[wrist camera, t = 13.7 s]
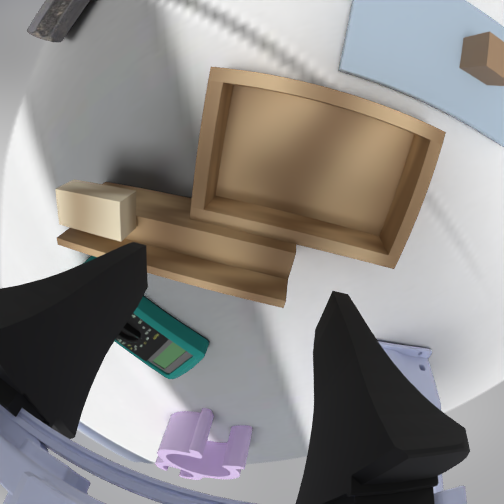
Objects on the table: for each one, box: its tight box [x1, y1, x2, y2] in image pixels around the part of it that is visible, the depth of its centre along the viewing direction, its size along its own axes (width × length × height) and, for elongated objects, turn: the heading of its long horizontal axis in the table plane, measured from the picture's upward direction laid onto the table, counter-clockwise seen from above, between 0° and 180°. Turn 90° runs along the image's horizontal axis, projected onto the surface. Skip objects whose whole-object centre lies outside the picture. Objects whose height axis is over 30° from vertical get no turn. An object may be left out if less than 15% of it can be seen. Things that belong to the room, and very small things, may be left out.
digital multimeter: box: [83, 256, 209, 379], centre depth 26 cm, size 7×15×3 cm, turn 51°
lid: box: [338, 0, 504, 147], centre depth 10 cm, size 13×9×5 cm
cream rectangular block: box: [56, 180, 136, 242], centre depth 15 cm, size 5×2×2 cm, turn 80°
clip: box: [155, 408, 253, 480], centre depth 37 cm, size 20×12×7 cm, turn 148°
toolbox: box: [57, 67, 446, 308], centre depth 15 cm, size 22×11×6 cm, turn 80°
